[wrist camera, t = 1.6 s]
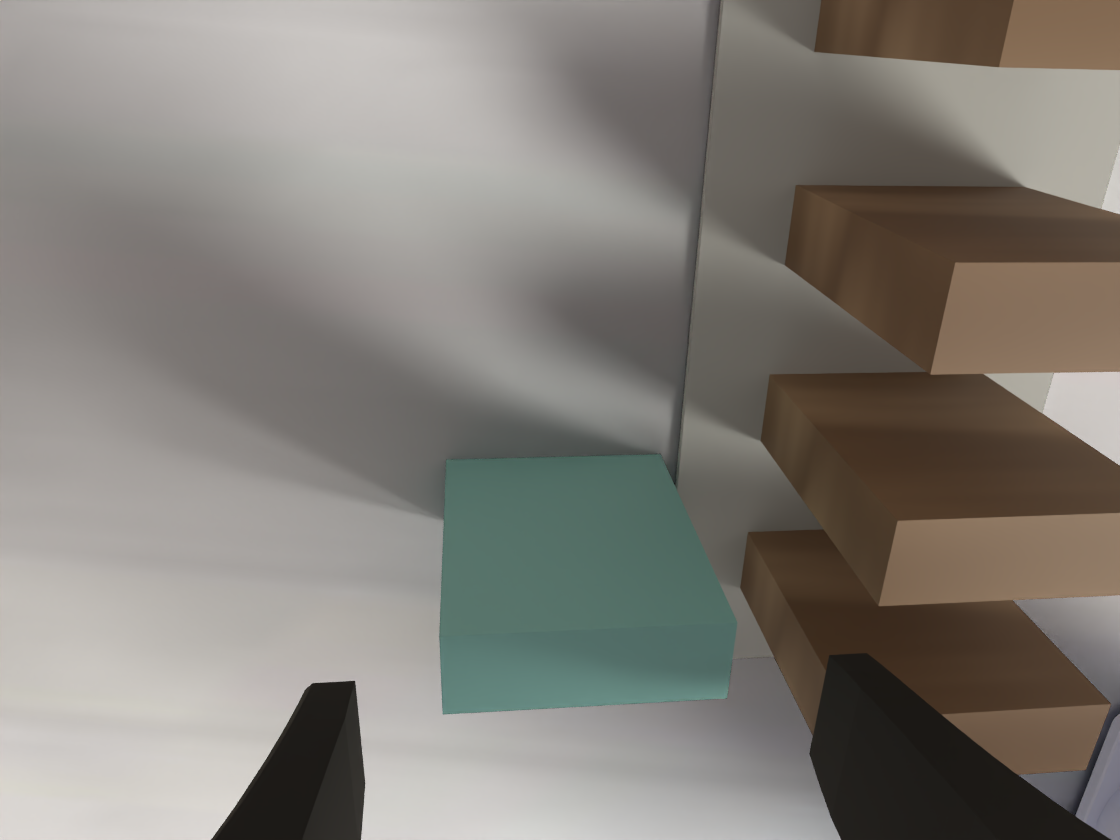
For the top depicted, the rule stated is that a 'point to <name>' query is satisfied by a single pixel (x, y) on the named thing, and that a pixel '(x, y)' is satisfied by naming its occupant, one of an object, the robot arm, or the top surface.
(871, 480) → the tile
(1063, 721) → the tile
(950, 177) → the runner mat
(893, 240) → the tile
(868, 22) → the tile
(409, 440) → the top surface
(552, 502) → the tile
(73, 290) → the top surface
